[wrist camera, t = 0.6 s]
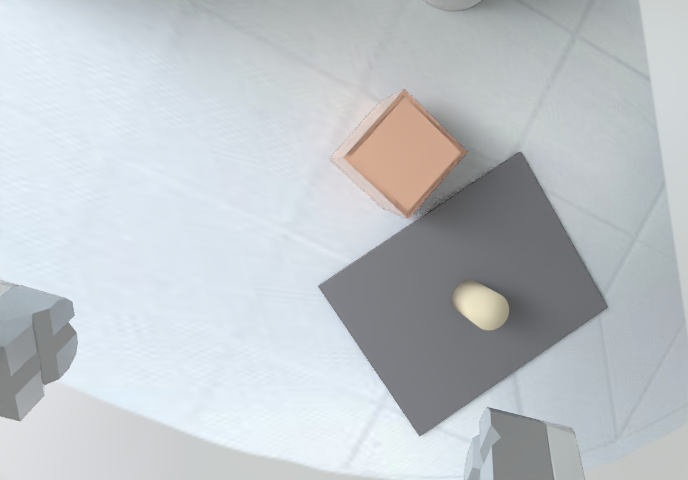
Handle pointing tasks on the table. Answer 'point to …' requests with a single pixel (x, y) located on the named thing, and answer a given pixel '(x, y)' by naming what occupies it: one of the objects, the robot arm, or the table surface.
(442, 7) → the white oval cylinder
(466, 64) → the table surface
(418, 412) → the mat
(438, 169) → the light orange rectangular block
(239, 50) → the table surface
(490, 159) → the table surface
